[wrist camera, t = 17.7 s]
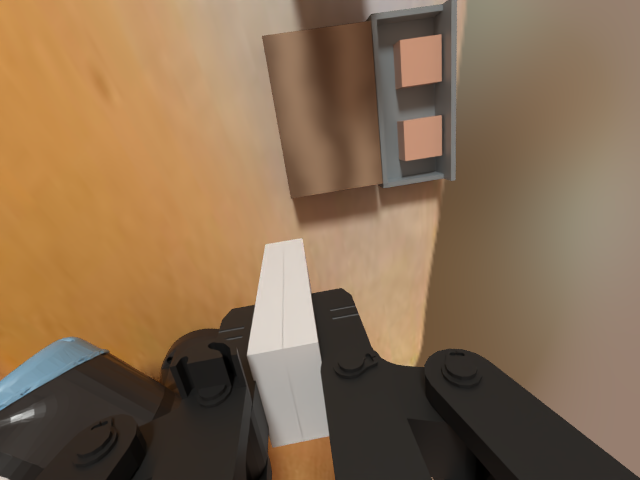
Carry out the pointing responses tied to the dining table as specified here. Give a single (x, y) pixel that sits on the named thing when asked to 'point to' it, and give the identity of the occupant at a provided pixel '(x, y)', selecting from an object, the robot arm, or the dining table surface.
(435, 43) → the tile
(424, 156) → the tile
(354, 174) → the brown flat block
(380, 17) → the tray
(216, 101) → the dining table surface
